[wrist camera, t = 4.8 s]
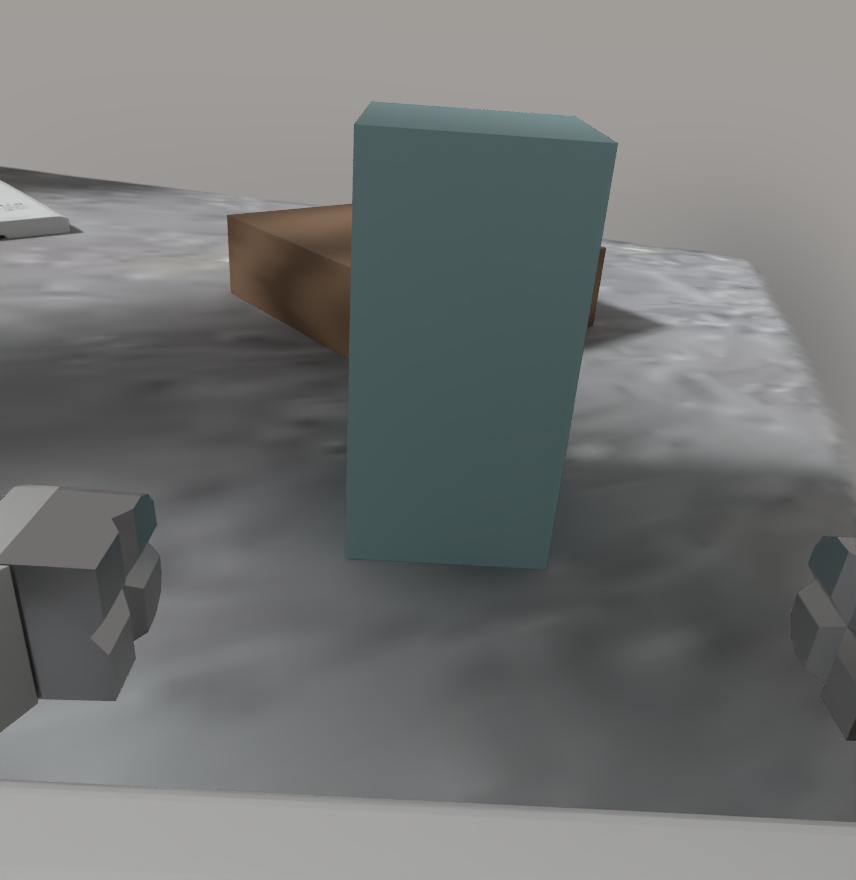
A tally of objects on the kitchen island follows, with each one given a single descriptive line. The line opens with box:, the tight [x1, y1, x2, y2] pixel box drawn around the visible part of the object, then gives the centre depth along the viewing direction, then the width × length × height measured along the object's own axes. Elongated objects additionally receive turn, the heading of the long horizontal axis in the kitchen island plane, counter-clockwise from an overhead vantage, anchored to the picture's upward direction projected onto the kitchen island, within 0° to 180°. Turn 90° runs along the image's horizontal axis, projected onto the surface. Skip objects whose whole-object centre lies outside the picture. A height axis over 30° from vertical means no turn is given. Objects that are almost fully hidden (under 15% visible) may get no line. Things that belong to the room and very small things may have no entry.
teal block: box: [344, 102, 618, 570], centre depth 20 cm, size 5×5×10 cm
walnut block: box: [227, 204, 606, 359], centre depth 36 cm, size 12×12×4 cm
